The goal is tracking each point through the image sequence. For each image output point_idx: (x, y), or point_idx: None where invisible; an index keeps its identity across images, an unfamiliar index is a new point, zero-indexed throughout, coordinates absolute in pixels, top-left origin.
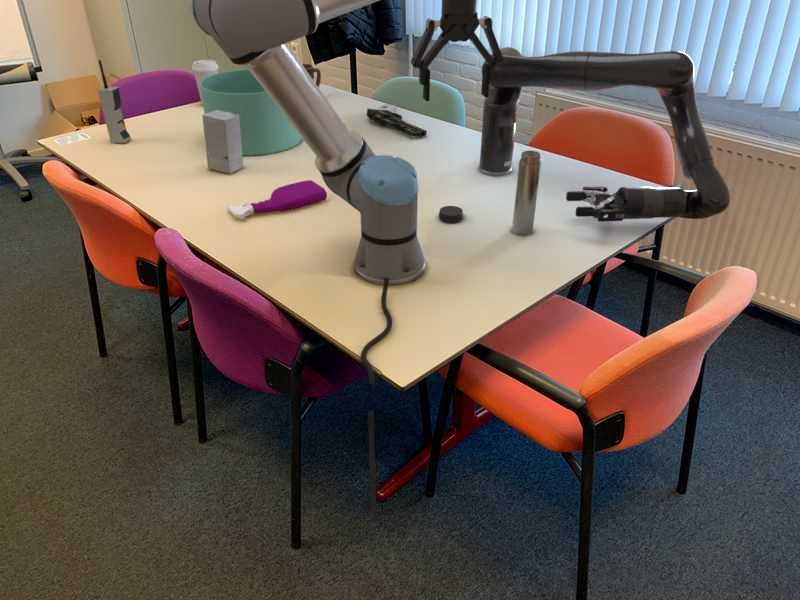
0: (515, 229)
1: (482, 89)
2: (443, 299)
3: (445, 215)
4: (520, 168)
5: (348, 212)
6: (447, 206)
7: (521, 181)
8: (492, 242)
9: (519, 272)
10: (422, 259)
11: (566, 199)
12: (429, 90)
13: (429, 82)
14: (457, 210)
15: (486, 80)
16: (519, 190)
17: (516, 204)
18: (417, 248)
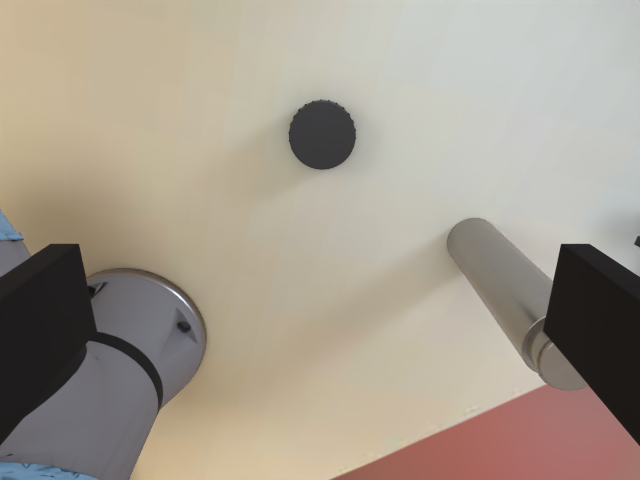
0: (451, 255)
1: (581, 283)
2: (221, 435)
3: (299, 159)
4: (513, 338)
5: (28, 23)
6: (320, 105)
7: (499, 325)
8: (379, 277)
9: (382, 390)
10: (191, 376)
11: (635, 242)
12: (51, 383)
13: (3, 436)
14: (340, 140)
15: (625, 426)
16: (487, 305)
17: (470, 277)
18: (170, 397)
